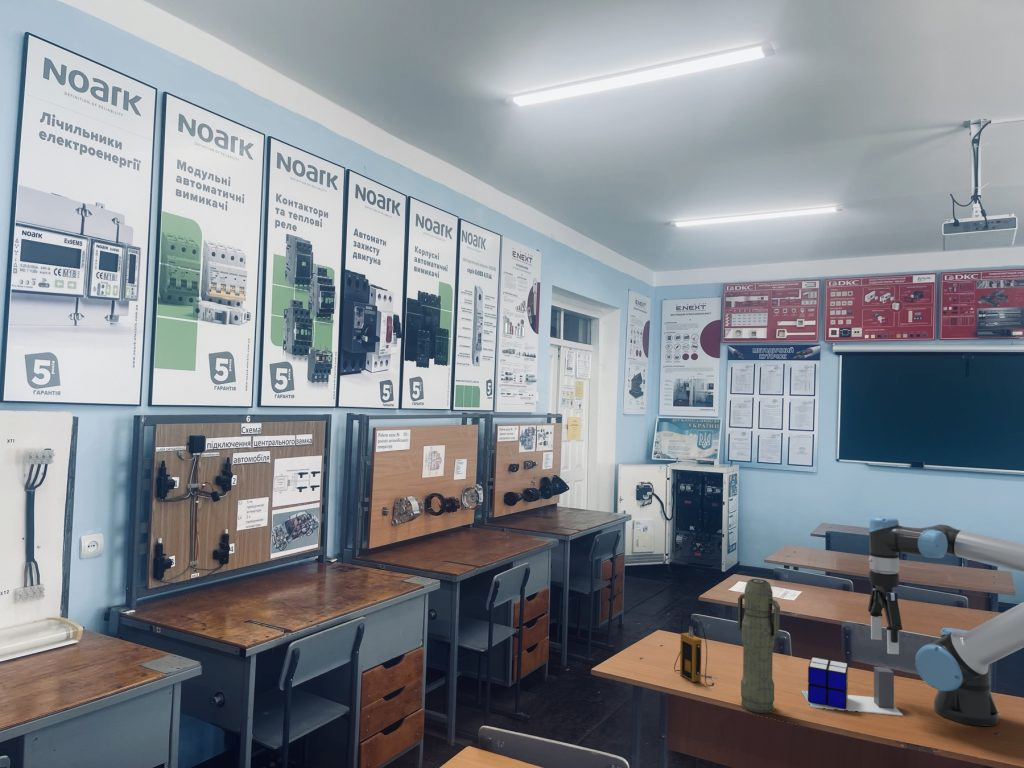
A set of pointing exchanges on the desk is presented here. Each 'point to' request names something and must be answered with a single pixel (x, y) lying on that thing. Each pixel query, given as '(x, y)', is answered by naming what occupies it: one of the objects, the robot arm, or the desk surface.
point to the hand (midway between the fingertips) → (884, 646)
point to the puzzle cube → (828, 683)
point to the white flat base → (876, 704)
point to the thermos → (758, 645)
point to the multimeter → (691, 655)
